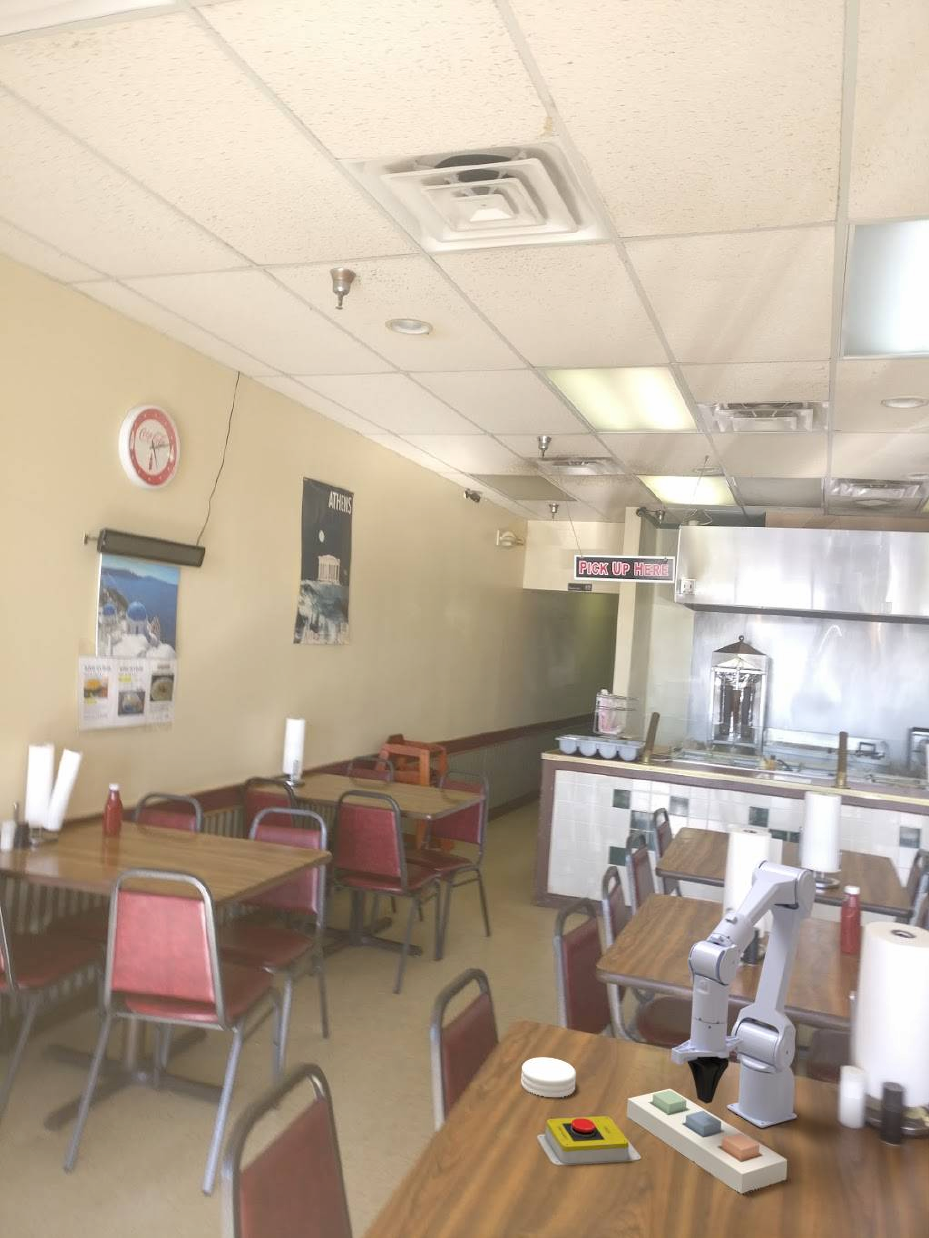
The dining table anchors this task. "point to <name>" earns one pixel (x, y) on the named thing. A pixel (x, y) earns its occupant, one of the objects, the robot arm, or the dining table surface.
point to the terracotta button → (740, 1147)
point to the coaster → (548, 1077)
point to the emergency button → (585, 1141)
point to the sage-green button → (669, 1102)
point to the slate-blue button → (703, 1124)
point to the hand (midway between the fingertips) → (704, 1100)
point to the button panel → (708, 1145)
